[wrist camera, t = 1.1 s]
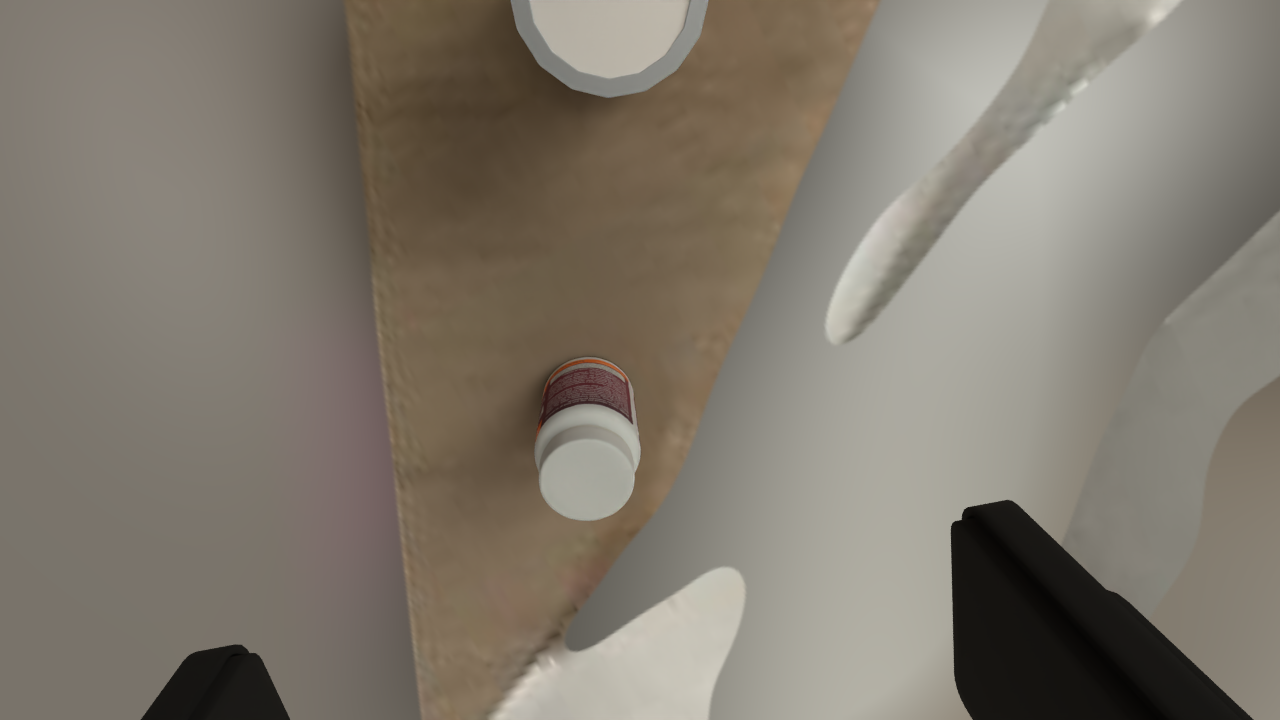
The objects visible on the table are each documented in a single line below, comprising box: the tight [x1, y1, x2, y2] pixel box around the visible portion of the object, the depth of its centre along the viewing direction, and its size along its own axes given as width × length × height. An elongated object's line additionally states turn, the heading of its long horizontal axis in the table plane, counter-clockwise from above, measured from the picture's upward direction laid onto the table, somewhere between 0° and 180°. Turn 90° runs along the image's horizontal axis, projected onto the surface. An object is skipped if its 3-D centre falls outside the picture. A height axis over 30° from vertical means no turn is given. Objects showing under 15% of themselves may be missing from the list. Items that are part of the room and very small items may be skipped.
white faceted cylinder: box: [511, 0, 709, 98], centre depth 27 cm, size 7×7×7 cm
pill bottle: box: [534, 357, 641, 521], centre depth 33 cm, size 5×5×8 cm
